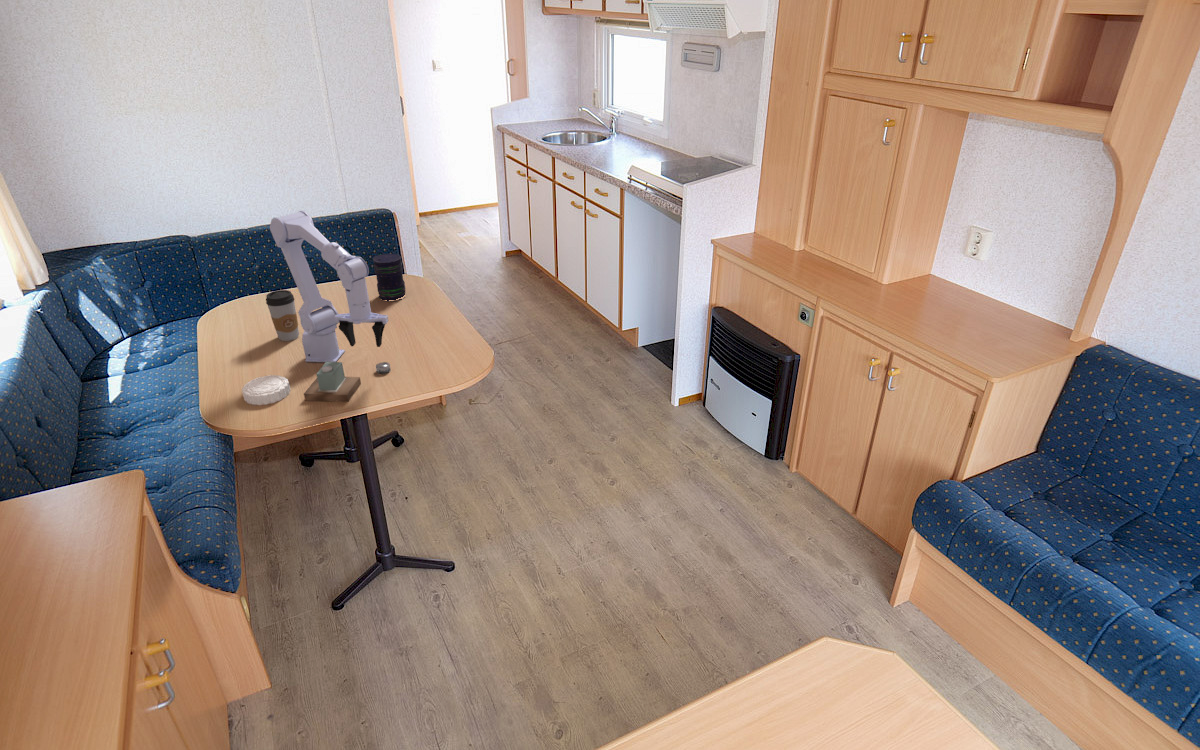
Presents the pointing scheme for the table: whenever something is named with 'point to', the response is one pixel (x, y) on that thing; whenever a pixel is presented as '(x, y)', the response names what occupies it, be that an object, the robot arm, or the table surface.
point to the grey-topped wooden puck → (383, 368)
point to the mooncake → (266, 390)
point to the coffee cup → (283, 314)
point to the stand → (333, 391)
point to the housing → (330, 376)
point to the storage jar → (389, 276)
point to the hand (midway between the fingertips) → (366, 345)
